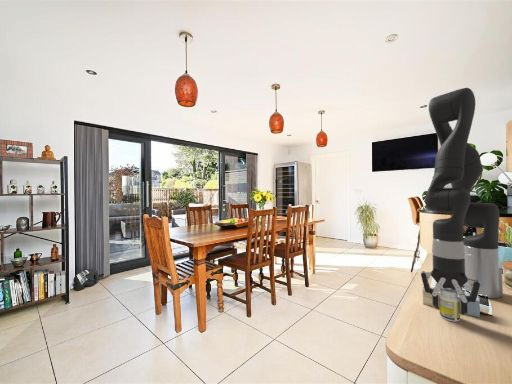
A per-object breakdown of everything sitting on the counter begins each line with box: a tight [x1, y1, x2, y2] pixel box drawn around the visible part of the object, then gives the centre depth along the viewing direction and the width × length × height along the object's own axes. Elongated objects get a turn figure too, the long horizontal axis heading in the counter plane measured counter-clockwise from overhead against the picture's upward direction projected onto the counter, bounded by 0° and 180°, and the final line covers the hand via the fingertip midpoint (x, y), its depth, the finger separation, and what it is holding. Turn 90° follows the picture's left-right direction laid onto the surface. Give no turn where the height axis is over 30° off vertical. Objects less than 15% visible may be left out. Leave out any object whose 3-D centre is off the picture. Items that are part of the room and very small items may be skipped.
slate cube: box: [458, 292, 481, 318], centre depth 73 cm, size 5×5×5 cm
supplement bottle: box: [439, 288, 461, 323], centre depth 70 cm, size 5×5×8 cm
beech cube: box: [422, 285, 441, 309], centre depth 79 cm, size 5×5×5 cm
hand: (449, 310), depth 70 cm, fingers open, 5 cm apart
